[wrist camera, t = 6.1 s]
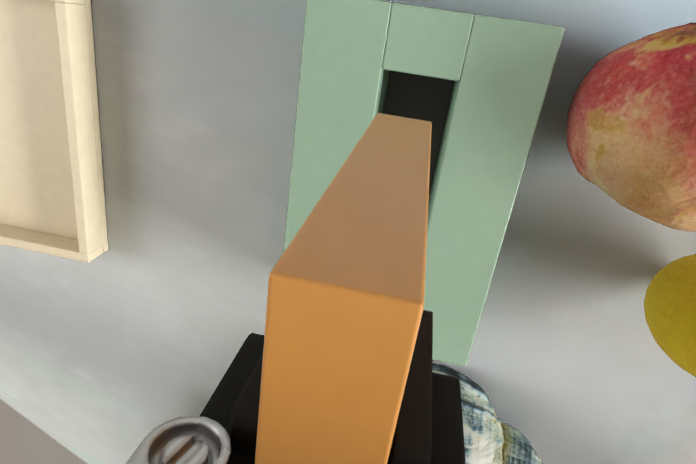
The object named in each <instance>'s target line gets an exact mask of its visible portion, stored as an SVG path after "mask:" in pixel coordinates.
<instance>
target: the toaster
mask: <svg viewBox="0 0 696 464" xmlns="http://www.w3.org/2000/svg"><path fill="white" fill-rule="evenodd" d="M564 31H565V28H564V27H561V26H554V25H547V24H540V23H533V22H526V21H519V20H513V19H506V18H499V17H492V16H485V15H478V14H477V15H474V14H471V13H464V12H457V11H450V10H443V9H436V8H429V7H422V6H416V5H409V4H402V3H391V2H388V1H381V0H307V1H306V12H305V23H304V34H303V44H302V55H301V66H300V77H299V88H298V99H297V109H296V120H295V131H294V142H293V153H292V164H291V175H290V185H289V196H288V207H287V218H286V229H285V240H284V251H283V253H284V252H285V250H286V249H287V247H288V246H289V244H290V243H291V241H292V240H293V238H294V237H295V235H296V234H297V232H298V231H299V229H300V228H301V226H302V225H303V223H304V222H305V220H306V219H307V217H308V216H309V214H310V213H311V211H312V210H313V208H314V207H315V206H316V204H317V203H318V201H319V200H320V198H321V197H322V195H323V194H324V192H325V191H326V189H327V188H328V186H329V185H330V183H331V182H332V180H333V179H334V177H335V176H336V174H337V173H338V171H339V170H340V168H341V167H342V165H343V164H344V162H345V161H346V159H347V158H348V156H349V155H350V153H351V152H352V150H353V149H354V147H355V146H356V144H357V143H358V141H359V140H360V138H361V137H362V136H363V134H364V133H365V131H366V130H367V128H368V127H369V125H370V124H371V122H372V121H373V119H374V118H375V116H376V115H377V113H382V114H388V115H394V116H400V117H406V118H412V119H418V120H424V121H430V122H431V123H432V129H431V153H430V177H429V201H428V225H427V248H426V272H425V296H424V309H423V310H426V311H431V312H433V353H432V359H433V360H438V361H443V362H447V363H452V364H456V365H461V366H466V365H467V362H468V358H469V355H470V351H471V348H472V344H473V341H474V338H475V334H476V331H477V327H478V324H479V321H480V317H481V314H482V310H483V307H484V304H485V300H486V297H487V293H488V290H489V287H490V283H491V280H492V276H493V273H494V269H495V266H496V263H497V259H498V256H499V252H500V249H501V246H502V242H503V239H504V235H505V232H506V229H507V225H508V222H509V218H510V215H511V211H512V208H513V205H514V201H515V198H516V194H517V191H518V188H519V184H520V181H521V177H522V174H523V171H524V167H525V164H526V160H527V157H528V153H529V150H530V147H531V143H532V140H533V136H534V133H535V130H536V126H537V123H538V119H539V116H540V113H541V109H542V106H543V102H544V99H545V96H546V92H547V89H548V85H549V82H550V78H551V75H552V72H553V68H554V65H555V61H556V58H557V55H558V51H559V48H560V44H561V41H562V38H563V34H564Z"/></svg>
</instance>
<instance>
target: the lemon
mask: <svg viewBox="0 0 696 464" xmlns="http://www.w3.org/2000/svg"><path fill="white" fill-rule="evenodd" d="M644 308H645V317H646V321H647V324H648V326H649V328H650V331H651V333H652V335H653V337H654V339H655V341H656V342H657V344H658V345H659V346H660V347H661V348H662V350H663V351H664V352H665V353H666V354H667V355H668V356H669V357H670V358H671V359H672V360H673V361H674V362H675V363H676V364H677V365H678V366H680V367H681V368H682V369H684V370H685V371H687V372H688V373H690V374H692V375H693V376H695V377H696V254H695V255H691V256H686V257H682V258H680V259H678V260H675V261H673V262H671V263H670V264H668V265H667V266H665V267H664V268H662V269H661V270H660V271H659V272H658V273H657V274H656V275H655V276H654V277H653V279H652V281H651V283H650V284H649V286H648V288H647V291H646V296H645V300H644Z"/></svg>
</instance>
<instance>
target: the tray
mask: <svg viewBox="0 0 696 464" xmlns="http://www.w3.org/2000/svg"><path fill="white" fill-rule="evenodd" d="M0 244H3V245H8V246H13V247H17V248H22V249H27V250H31V251H36V252H41V253H45V254H50V255H55V256H60V257H64V258H69V259H74V260H78V261H83V262H90V261H92V260H93V259H95V258H96V257H98V256H99V255H101V254H102V253H103V252H106V251H107V250H108V238H107V224H106V210H105V195H104V181H103V167H102V153H101V139H100V124H99V110H98V96H97V82H96V68H95V53H94V39H93V25H92V11H91V0H0Z"/></svg>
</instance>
